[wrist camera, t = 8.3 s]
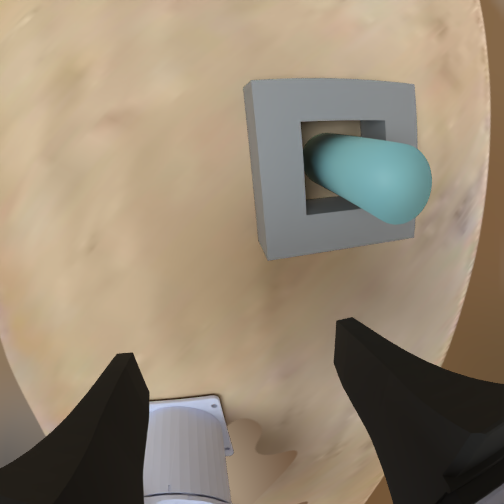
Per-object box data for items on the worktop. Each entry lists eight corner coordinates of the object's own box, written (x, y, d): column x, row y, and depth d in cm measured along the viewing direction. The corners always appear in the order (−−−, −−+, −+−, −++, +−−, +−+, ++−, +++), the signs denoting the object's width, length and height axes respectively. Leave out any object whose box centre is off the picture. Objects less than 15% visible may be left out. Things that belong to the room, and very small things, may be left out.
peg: (350, 183, 19) (429, 221, 12) (302, 186, 19) (364, 228, 12) (349, 133, 18) (432, 144, 11) (300, 133, 18) (365, 143, 10)
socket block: (389, 222, 21) (413, 237, 18) (258, 241, 20) (267, 260, 17) (387, 87, 17) (414, 84, 14) (243, 87, 16) (250, 80, 14)
